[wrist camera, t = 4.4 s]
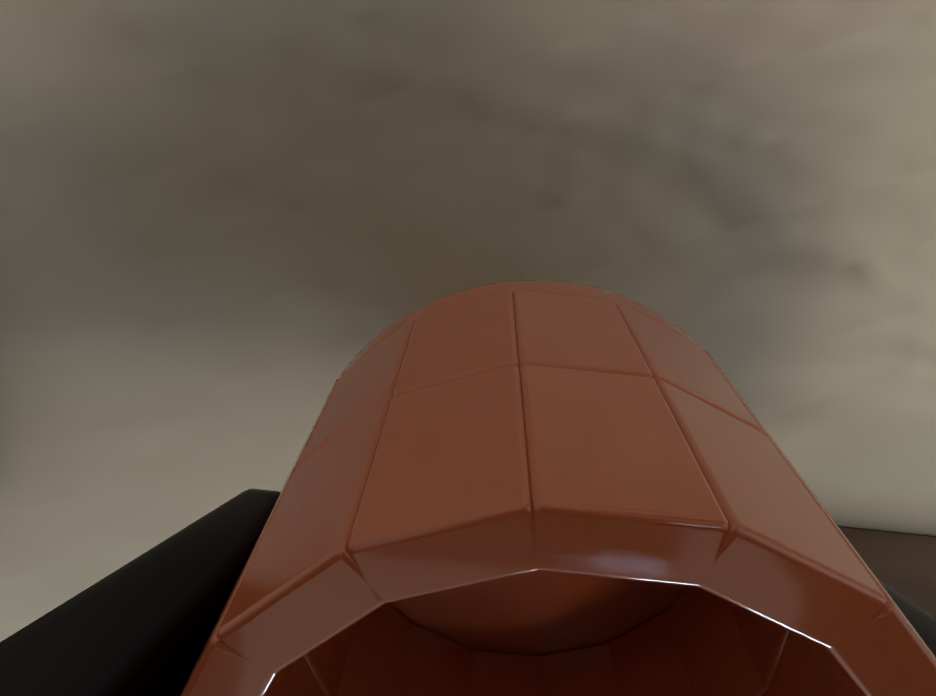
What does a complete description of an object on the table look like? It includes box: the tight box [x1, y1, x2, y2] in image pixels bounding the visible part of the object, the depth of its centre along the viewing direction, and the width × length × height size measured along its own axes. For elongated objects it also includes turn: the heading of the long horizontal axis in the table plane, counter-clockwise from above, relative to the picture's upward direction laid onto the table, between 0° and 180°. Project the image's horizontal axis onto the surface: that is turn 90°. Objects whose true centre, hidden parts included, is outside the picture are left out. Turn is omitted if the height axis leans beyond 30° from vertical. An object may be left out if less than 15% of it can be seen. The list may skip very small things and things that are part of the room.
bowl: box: [180, 280, 936, 696], centre depth 7 cm, size 6×6×4 cm
